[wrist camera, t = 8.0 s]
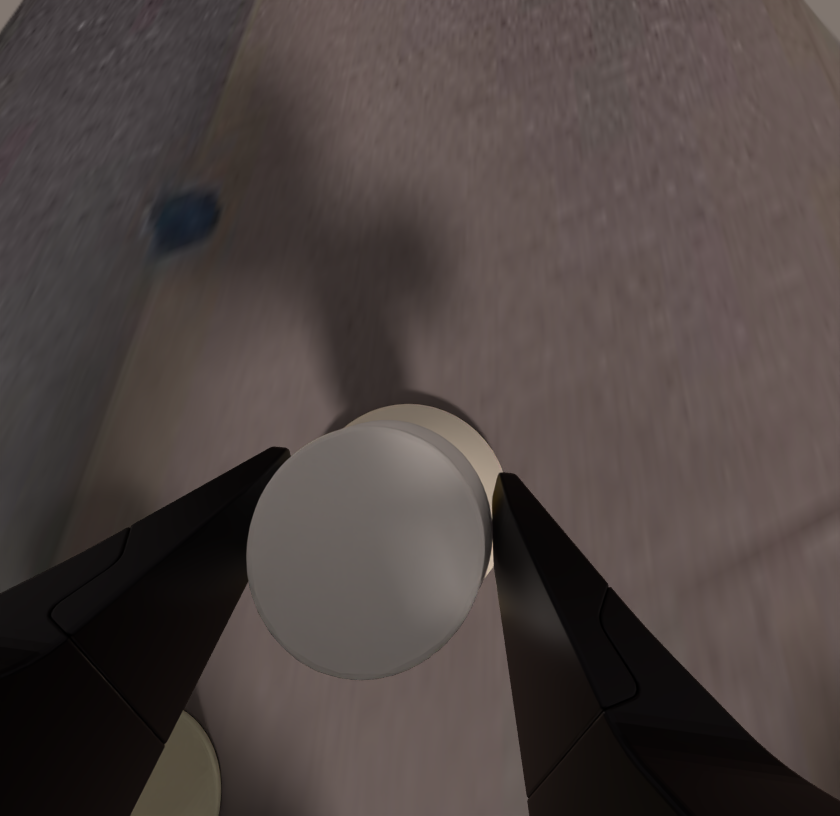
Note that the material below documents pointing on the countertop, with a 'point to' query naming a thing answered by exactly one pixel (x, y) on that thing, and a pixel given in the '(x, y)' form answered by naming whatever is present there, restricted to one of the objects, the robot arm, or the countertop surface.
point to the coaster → (453, 432)
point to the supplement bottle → (369, 549)
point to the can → (183, 776)
